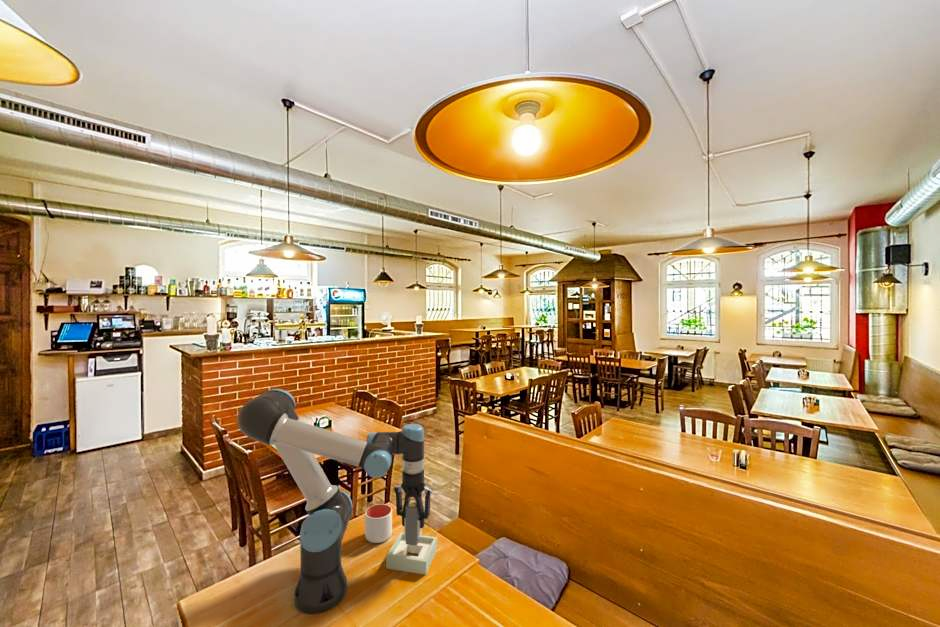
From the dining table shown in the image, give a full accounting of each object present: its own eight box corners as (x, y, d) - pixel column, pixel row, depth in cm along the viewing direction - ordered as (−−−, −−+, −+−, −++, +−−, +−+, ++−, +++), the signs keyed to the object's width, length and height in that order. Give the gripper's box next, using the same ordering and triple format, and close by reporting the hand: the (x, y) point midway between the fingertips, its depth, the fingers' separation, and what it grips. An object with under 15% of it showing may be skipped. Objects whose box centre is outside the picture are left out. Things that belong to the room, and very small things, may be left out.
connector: (405, 544, 131) (405, 504, 130) (409, 537, 135) (409, 498, 134) (416, 545, 130) (416, 505, 130) (420, 538, 134) (420, 499, 133)
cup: (397, 534, 146) (397, 508, 146) (378, 548, 138) (378, 521, 138) (378, 525, 152) (378, 501, 151) (359, 538, 143) (359, 513, 143)
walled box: (386, 568, 128) (386, 555, 128) (400, 544, 140) (400, 532, 140) (425, 574, 125) (426, 561, 125) (437, 549, 138) (437, 537, 138)
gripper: (385, 472, 130) (386, 538, 130) (433, 477, 126) (433, 545, 127) (394, 463, 137) (394, 526, 138) (439, 467, 134) (439, 531, 134)
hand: (413, 535), depth 132 cm, fingers closed on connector, 4 cm apart
